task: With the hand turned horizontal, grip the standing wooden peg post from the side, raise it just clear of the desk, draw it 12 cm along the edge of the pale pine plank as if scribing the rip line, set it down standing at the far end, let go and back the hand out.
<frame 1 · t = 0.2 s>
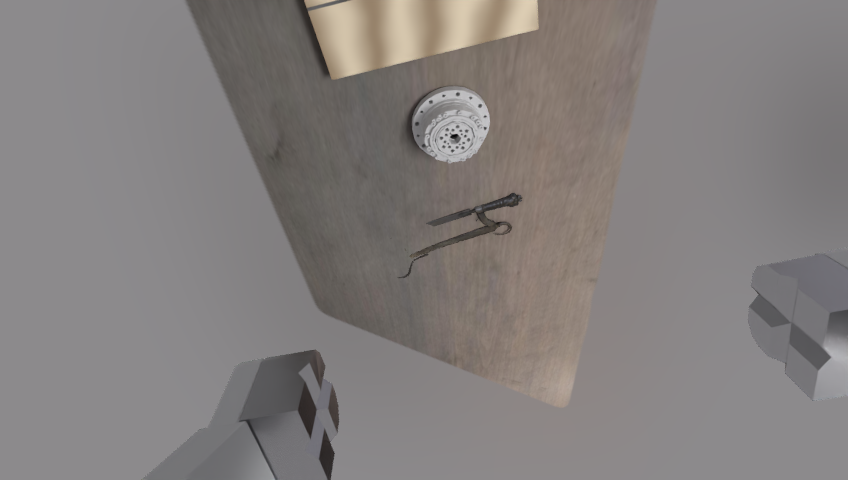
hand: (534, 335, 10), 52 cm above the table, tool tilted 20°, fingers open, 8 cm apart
mechanical component: (449, 119, 66), on the table
plank: (423, 5, 55), on the table
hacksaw: (451, 235, 80), on the table
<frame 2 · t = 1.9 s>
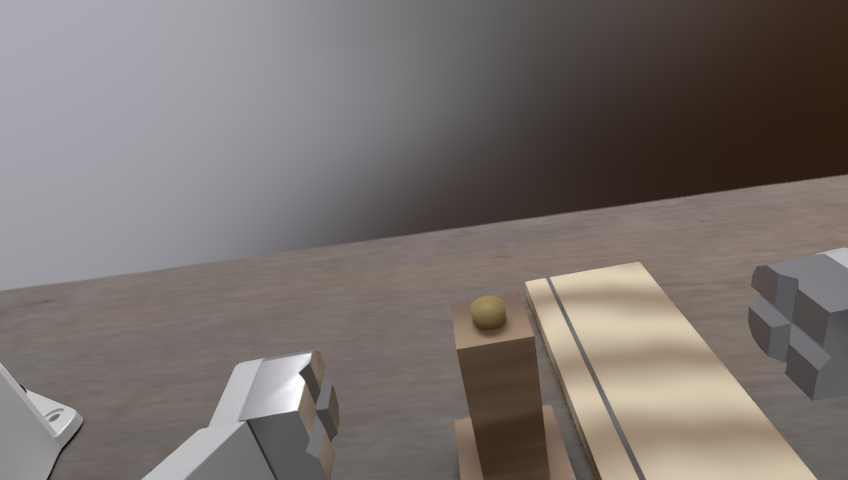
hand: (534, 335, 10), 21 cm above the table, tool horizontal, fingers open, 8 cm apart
plank: (637, 381, 34), on the table
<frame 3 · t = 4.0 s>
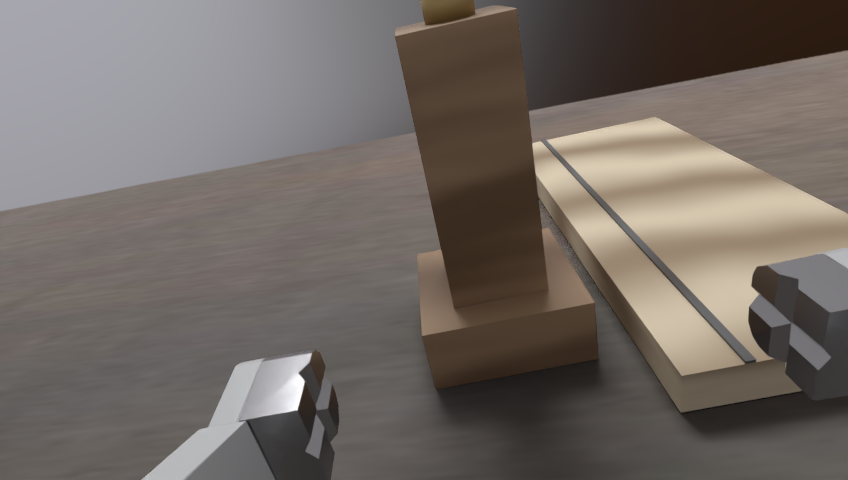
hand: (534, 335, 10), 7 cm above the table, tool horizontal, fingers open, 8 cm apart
wooden peg post: (501, 325, 21), on the table
plank: (663, 219, 26), on the table
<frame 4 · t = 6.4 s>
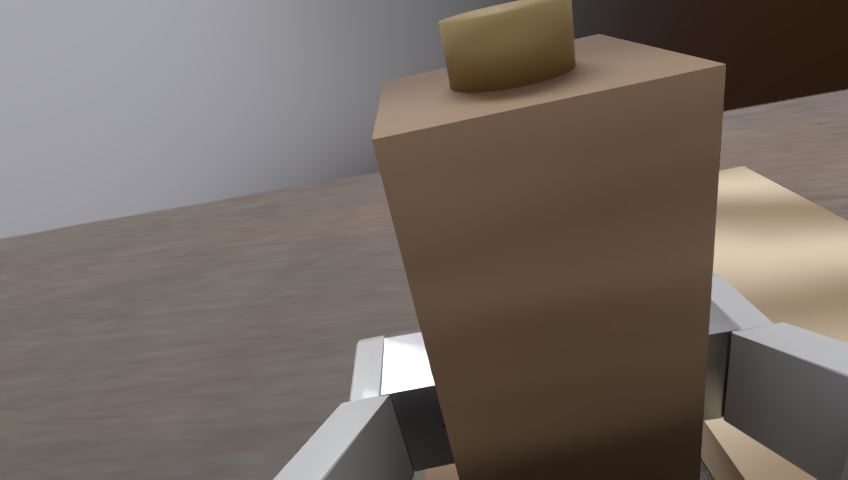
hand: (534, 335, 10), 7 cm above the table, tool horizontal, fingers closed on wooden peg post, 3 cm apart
plank: (804, 354, 17), on the table
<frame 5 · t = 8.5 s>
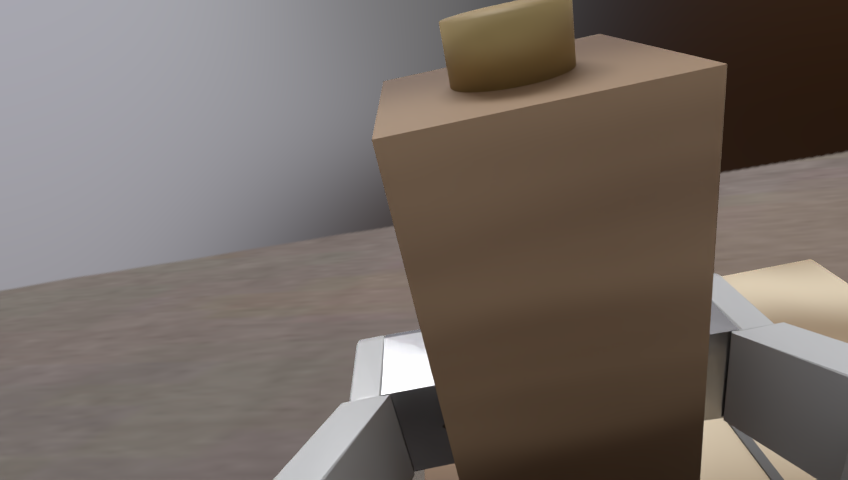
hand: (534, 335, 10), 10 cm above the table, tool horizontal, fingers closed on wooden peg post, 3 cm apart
when the fingers open (8 cm above the table, at t = 10.7 s): wooden peg post drops 1 cm, on the table.
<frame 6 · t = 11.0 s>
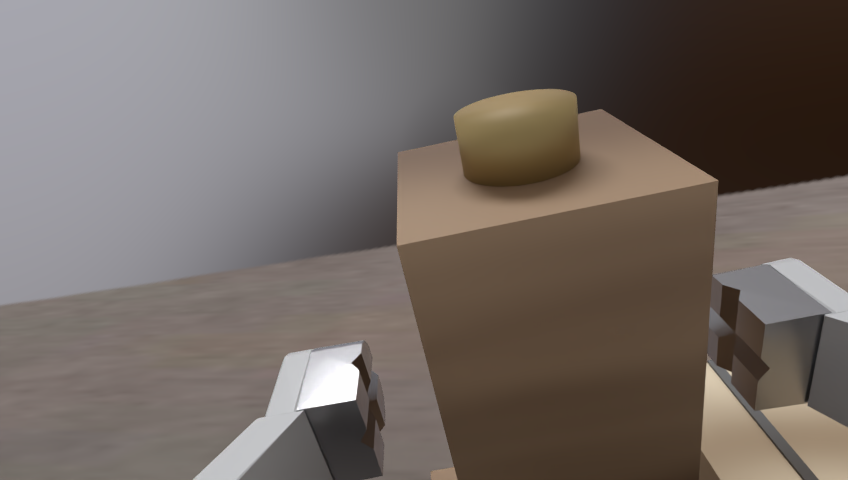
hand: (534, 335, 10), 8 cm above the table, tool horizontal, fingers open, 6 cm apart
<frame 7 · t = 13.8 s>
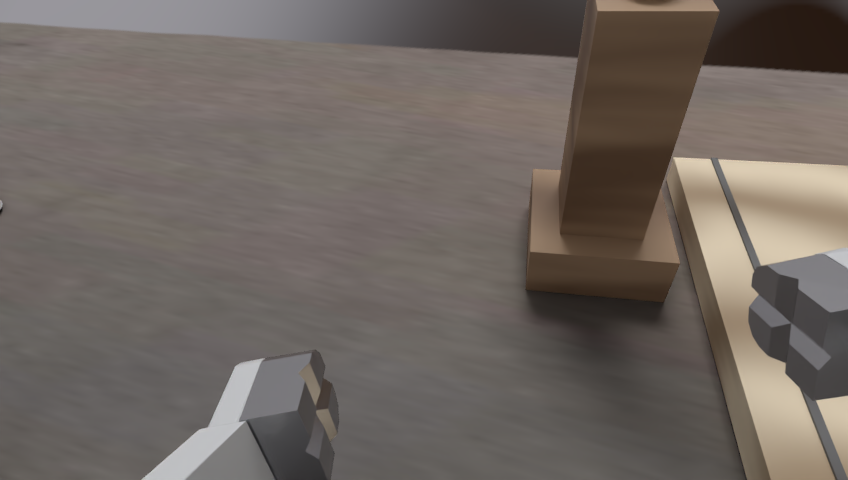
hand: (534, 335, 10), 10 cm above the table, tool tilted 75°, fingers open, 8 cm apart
wooden peg post: (589, 249, 25), on the table
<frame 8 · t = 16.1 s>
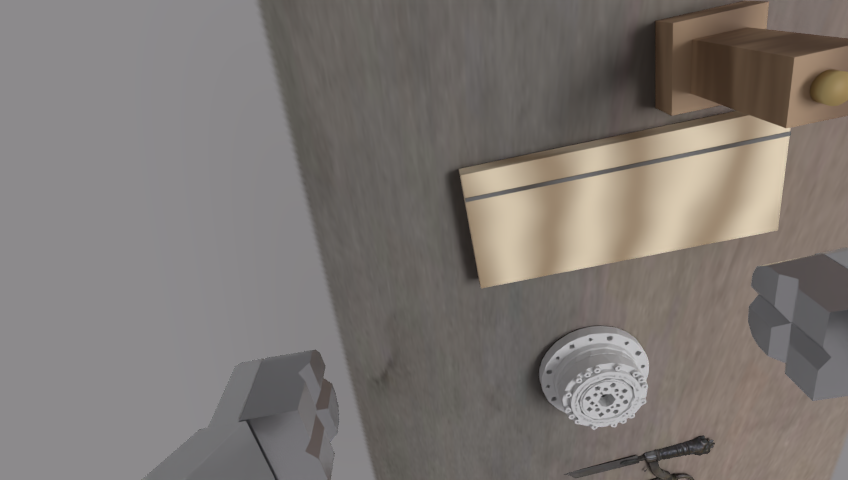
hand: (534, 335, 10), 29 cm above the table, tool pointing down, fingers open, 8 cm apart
wooden peg post: (698, 56, 36), on the table
mechanical component: (589, 365, 48), on the table
plank: (618, 196, 40), on the table
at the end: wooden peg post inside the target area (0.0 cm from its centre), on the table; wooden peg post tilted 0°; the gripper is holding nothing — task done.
